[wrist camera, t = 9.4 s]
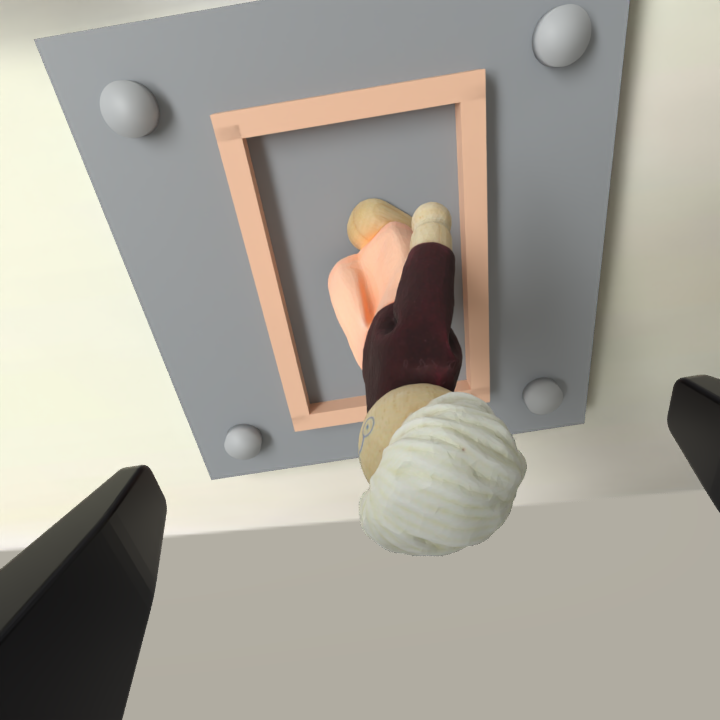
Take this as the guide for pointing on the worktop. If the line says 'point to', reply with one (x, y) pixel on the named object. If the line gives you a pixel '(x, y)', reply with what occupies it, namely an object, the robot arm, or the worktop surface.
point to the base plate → (350, 196)
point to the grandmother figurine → (418, 389)
